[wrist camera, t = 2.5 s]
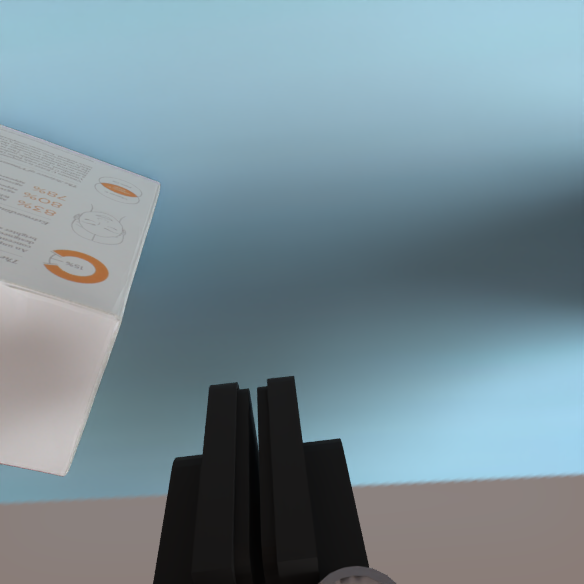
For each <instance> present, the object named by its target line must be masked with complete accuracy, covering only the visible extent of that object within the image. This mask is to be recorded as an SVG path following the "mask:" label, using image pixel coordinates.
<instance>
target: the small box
mask: <svg viewBox="0 0 584 584" xmlns="http://www.w3.org/2000/svg"><path fill="white" fill-rule="evenodd" d="M159 192H160V183H159V182H157V181H155V180H152V179H149V178H147V177H144V176H141V175H138V174H136V173H133V172H130V171H128V170H125V169H122V168H120V167H117V166H114V165H111V164H109V163H106V162H103V161H100V160H98V159H95V158H92V157H89V156H87V155H84V154H81V153H78V152H76V151H73V150H70V149H67V148H65V147H62V146H59V145H56V144H54V143H51V142H48V141H45V140H43V139H40V138H37V137H34V136H32V135H29V134H26V133H23V132H20V131H18V130H15V129H12V128H9V127H6V126H3V125H0V464H4V465H9V466H14V467H19V468H24V469H30V470H35V471H40V472H45V473H49V474H54V475H59V476H65V475H66V474H67V472H68V471H69V469H70V466H71V463H72V460H73V458H74V455H75V452H76V450H77V447H78V444H79V441H80V439H81V436H82V433H83V430H84V428H85V425H86V422H87V419H88V416H89V413H90V410H91V408H92V405H93V402H94V399H95V396H96V393H97V390H98V387H99V385H100V382H101V379H102V376H103V373H104V371H105V368H106V365H107V362H108V359H109V357H110V354H111V351H112V348H113V345H114V343H115V340H116V337H117V334H118V331H119V328H120V325H121V322H122V318H123V314H124V310H125V306H126V302H127V298H128V295H129V291H130V288H131V285H132V281H133V278H134V275H135V272H136V268H137V265H138V262H139V259H140V255H141V252H142V248H143V245H144V242H145V239H146V236H147V232H148V229H149V226H150V223H151V220H152V216H153V213H154V210H155V206H156V203H157V199H158V196H159Z"/></svg>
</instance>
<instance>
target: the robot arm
mask: <svg viewBox="0 0 584 584" xmlns="http://www.w3.org/2000/svg"><path fill="white" fill-rule="evenodd" d="M257 402H258V439H259V450H258V443H257V436H256V430H255V423H254V417H253V410H252V403H251V397H250V391H249V388H248V389H239V385H238V383H237V382H236V383H227V384H218V385H210V387H209V396H208V406H207V416H206V426H205V436H204V446H203V455H195V456H186V457H177V458H175V460H174V462H173V466H172V471H171V477H170V483H169V490H168V496H167V502H166V508H165V515H164V520H163V526H162V532H161V538H160V545H159V551H158V557H157V563H156V570H155V576H154V581H153V584H396V583H395V582H394V581H393V580H392V579H391V578H389V577H388V576H387V575H385V574H383V573H381V572H379V571H377V570H375V569H373V568H369V564H368V560H367V555H366V551H365V546H364V541H363V537H362V532H361V528H360V523H359V518H358V515H357V509H356V505H355V500H354V496H353V491H352V487H351V482H350V477H349V473H348V468H347V464H346V459H345V455H344V450H343V446H342V442H341V439H332V440H323V441H315V442H306V443H303V442H302V434H301V426H300V418H299V411H298V403H297V395H296V387H295V380H294V376H289V377H280V378H271V379H267V386H266V387H257Z"/></svg>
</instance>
